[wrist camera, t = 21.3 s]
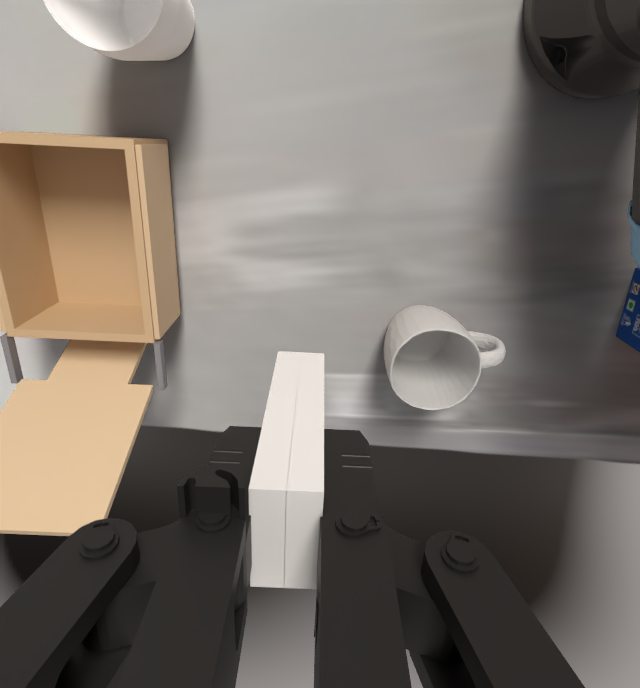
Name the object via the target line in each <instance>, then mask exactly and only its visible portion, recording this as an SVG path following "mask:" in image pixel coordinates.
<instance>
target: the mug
mask: <svg viewBox="0 0 640 688" xmlns="http://www.w3.org/2000/svg"><path fill="white" fill-rule="evenodd" d="M478 348H481V349H486V350H488V351H487V352H480V351H479V349H478ZM505 353H506V351H505V346H504V344H503V342H502V341H501V340H499V339H498V338H496V337H494V336H492V335H489V334H484V333H479V332H473V331H467V330H466V329H465V328H464V327H463V326H462V325H461V324H460V323H459V322H458V321H457V320H455V319H454V318H453V317H451V316H450V315H449V314H447V313H446V312H444V311H441V310H439V309H437V308H434V307H430V306H425V305H415V306H410V307H407V308H405V309H403V310H401V311H400V312H399V313H397V314H396V315H395V317H394V318H393V319H392V321H391V322H390V324H389V326H388V330H387V332H386V335H385V341H384V361H385V366H386V372H387V376H388V379H389V381H390V384H391V387H392V389H393V391H394V392H395V393H396V395H397V396H398V397H399V398H400V399H401V400H402V401H403V402H405V403H407V404H409V405H411V406H413V407H416V408H421V409H425V410H442V409H446V408H450V407H452V406H454V405H456V404H458V403H460V402H461V401H463V400H464V399H465V398H467V396H468V395H469V394H470V393H471V392H472V391H473V389H474V388H475V386H476V384H477V382H478V379H479V377H480V373H481V369H482V368H489V367H493V366H496V365H498V364H500V363H501V362H502V361H503V360H504V357H505Z"/></svg>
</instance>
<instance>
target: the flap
mask: <svg viewBox="0 0 640 688" xmlns="http://www.w3.org/2000/svg"><path fill="white" fill-rule="evenodd" d="M146 346H147V343H138V342H117V341H96V340H74V339H71V340H70V342H69V343H68V345H67V347H66V348H65V350H64V352H63V354H62V355H61V357H60V359H59V360H58V362H57V364H56V365H55V367H54V369H53V371H52V372H51V374H50V376H49V377H48V379H47V380H29V379H21V381H20V382H19V384H18V385H17V387H16V388H15V390H14V392H13V393H12V395H11V396H10V398H9V399H8V401H7V403H6V404H5V406H4V407H3V409H2V410H1V412H0V533H8V534H32V535H56V536H70V535H71V534H73V533H74V532H75V531H76V530H78V529H79V528H80V527H82V526H84V525H86V524H89V523H91V522H93V521H96V520H101V519H106V518H107V517H108V514H109V511H110V509H111V506H112V503H113V500H114V498H115V495H116V492H117V490H118V487H119V484H120V481H121V478H122V476H123V473H124V470H125V467H126V465H127V462H128V459H129V456H130V454H131V451H132V448H133V445H134V443H135V440H136V437H137V434H138V431H139V429H140V426H141V423H142V421H143V418H144V415H145V412H146V410H147V407H148V404H149V401H150V399H151V396H152V393H153V390H154V388H153V385H138V384H131V382H132V380H133V377H134V375H135V372H136V370H137V367H138V365H139V363H140V360H141V358H142V355H143V353H144V351H145V348H146Z"/></svg>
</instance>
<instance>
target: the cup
mask: <svg viewBox="0 0 640 688" xmlns="http://www.w3.org/2000/svg"><path fill="white" fill-rule="evenodd" d="M43 1H44V3H45V5H46V7H47V9H48V10H49V12H50V13H51V15H52V16H53V18H54V19H55V20H56V22H57V23H58V24H59V25H60V26H61V27H62V28H63V29H64V30H65V31H66V32H67V33H68V34H69V35H70V36H72V37H73V38H75V39H76V40H77V41H79V42H81V43H83V44H85V45H87V46H89V47H90V48H92V49H93V50H95V51H97V52H98V53H100V54H102V55H105V56H107V57H110V58H113V59H118V60H124V61H164V60H170V59H173V58H176V57H178V56H179V55H180V54H182V53H183V52H184V51H185V50H186V48H187V47H188V46H189V44H190V42H191V40H192V37H193V33H194V27H195V17H194V11H193V7H192V4H191V1H190V0H43Z"/></svg>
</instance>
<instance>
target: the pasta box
mask: <svg viewBox="0 0 640 688" xmlns="http://www.w3.org/2000/svg"><path fill="white" fill-rule="evenodd" d="M616 336H617V337H618V338H620V339H621V340H623V341H624V342H626V343H627V344H629V345H630V346H631V347H633V348H634V349H636V350H637V351H639V352H640V268H635V272H634V275H633V279H632V282H631V286H630V289H629V292H628V296H627V299H626V303H625V306H624V310H623V313H622V317H621V320H620V323H619V327H618V330H617V334H616Z"/></svg>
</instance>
